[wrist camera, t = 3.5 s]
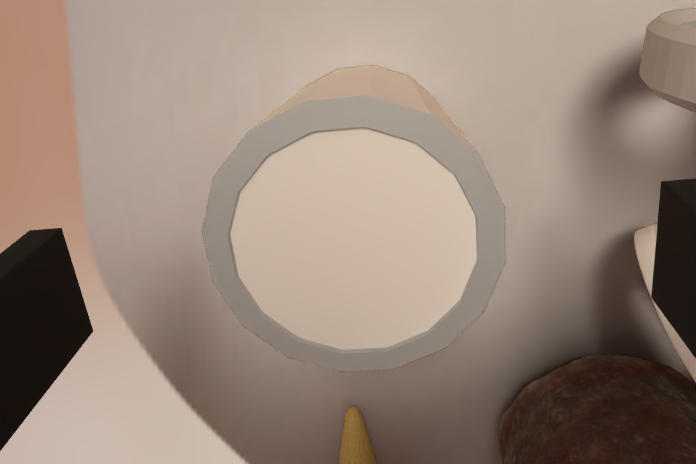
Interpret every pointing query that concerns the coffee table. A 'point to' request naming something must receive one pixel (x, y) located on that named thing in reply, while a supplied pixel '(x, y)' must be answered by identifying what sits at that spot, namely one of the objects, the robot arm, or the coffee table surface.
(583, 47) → the coffee table surface
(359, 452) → the ice cream cone
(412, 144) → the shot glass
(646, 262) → the cream flat oval piece
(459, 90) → the coffee table surface
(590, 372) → the candle
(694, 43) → the mug
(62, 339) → the robot arm
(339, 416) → the coffee table surface
